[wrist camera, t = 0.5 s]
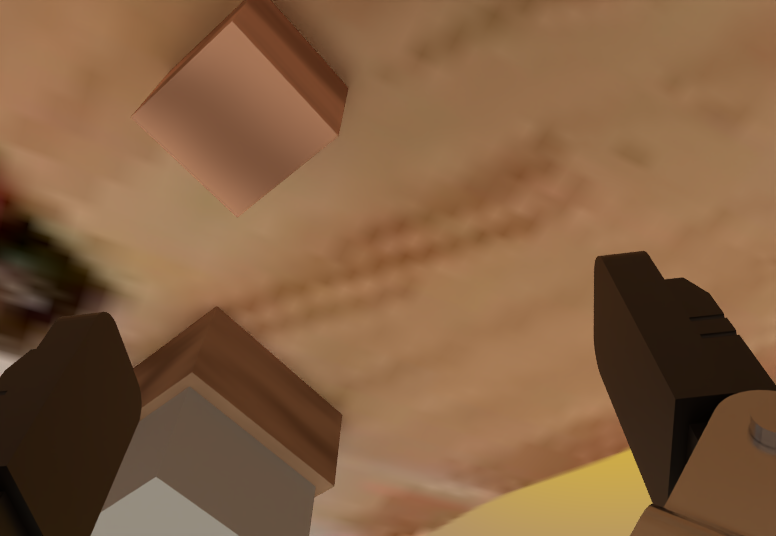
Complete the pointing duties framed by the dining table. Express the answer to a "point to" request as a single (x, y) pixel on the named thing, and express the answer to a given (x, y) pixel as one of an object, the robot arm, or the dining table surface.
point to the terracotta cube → (246, 106)
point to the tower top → (202, 479)
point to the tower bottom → (247, 393)
